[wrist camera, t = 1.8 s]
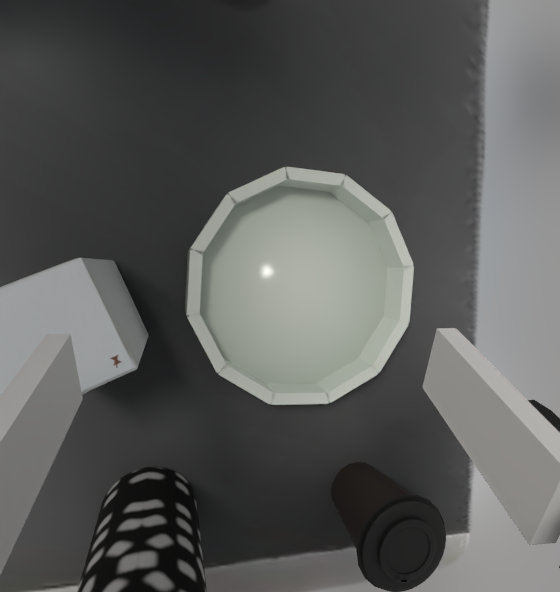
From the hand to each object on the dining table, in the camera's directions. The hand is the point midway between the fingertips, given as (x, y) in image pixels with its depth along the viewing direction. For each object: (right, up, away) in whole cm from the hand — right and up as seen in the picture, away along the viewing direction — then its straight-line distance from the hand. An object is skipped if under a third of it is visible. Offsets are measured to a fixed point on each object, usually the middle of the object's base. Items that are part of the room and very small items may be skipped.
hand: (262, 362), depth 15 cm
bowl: (+2, +3, +24) cm, 24 cm away
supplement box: (-15, +1, +20) cm, 25 cm away
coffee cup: (+8, -17, +28) cm, 33 cm away
